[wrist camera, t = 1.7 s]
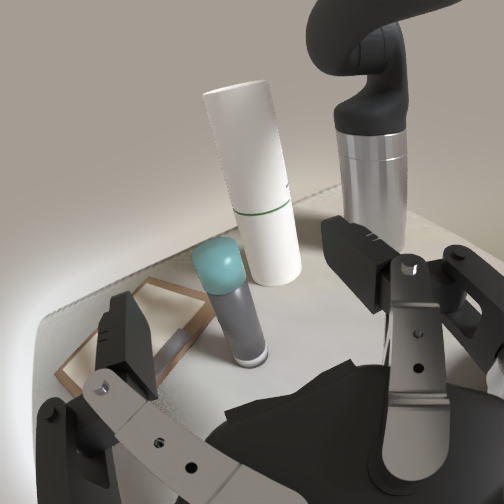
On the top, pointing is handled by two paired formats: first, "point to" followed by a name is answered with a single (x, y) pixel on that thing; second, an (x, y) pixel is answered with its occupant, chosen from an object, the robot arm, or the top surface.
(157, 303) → the clipboard
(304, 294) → the top surface
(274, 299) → the top surface
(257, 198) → the cylindrical container
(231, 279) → the marker
